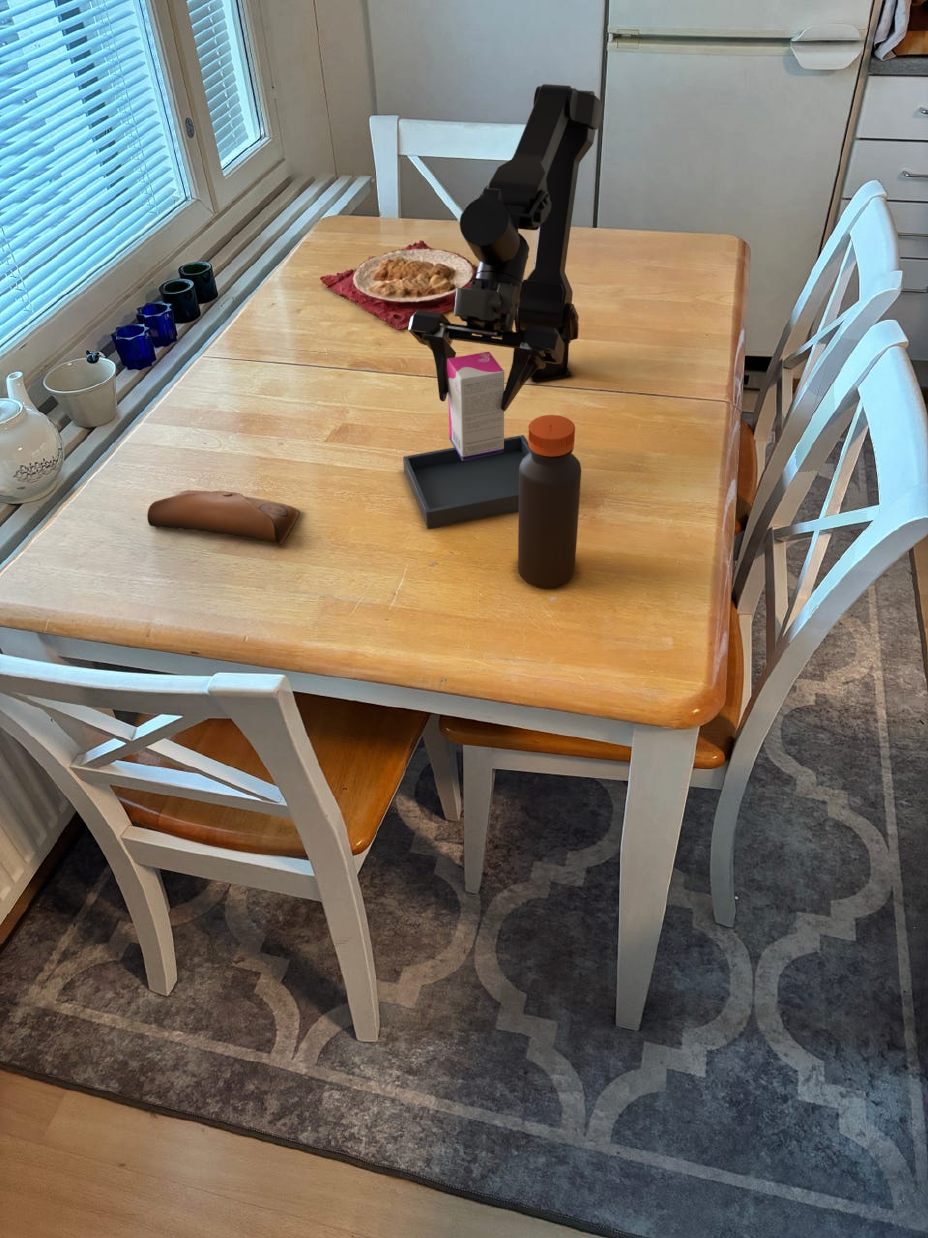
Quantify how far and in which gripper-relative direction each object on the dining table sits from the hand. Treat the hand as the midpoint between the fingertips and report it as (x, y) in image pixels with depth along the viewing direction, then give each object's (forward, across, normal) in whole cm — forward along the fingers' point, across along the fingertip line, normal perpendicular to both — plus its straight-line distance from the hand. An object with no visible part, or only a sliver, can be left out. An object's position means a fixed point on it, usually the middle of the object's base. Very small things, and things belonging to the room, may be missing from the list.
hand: (472, 405), depth 116 cm
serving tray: (+9, 0, +10) cm, 13 cm away
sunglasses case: (+20, -29, -2) cm, 35 cm away
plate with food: (-30, -32, +50) cm, 67 cm away
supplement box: (+4, 0, +6) cm, 7 cm away
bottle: (+18, +13, 0) cm, 23 cm away
